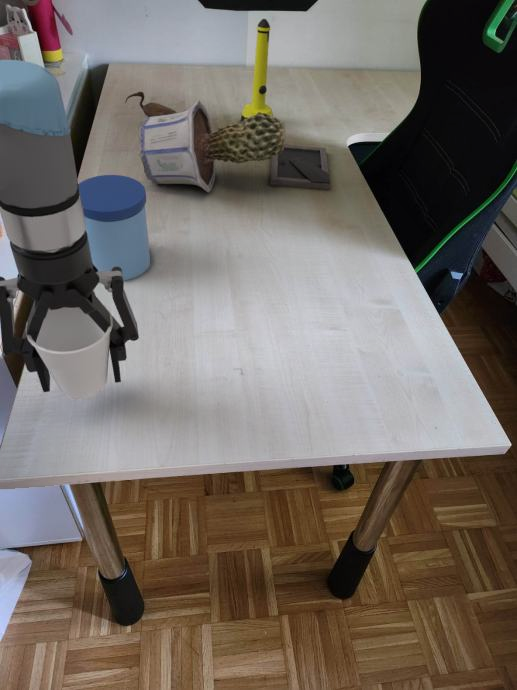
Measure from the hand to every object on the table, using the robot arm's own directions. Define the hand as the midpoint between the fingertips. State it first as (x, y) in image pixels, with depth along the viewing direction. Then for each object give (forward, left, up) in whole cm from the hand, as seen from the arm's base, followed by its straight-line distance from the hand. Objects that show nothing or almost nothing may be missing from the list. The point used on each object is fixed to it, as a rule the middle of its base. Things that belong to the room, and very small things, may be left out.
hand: (82, 379), depth 68 cm
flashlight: (+46, +86, -5) cm, 98 cm away
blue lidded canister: (+6, +31, -5) cm, 32 cm away
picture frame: (+50, +61, -5) cm, 79 cm away
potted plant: (+28, +56, -5) cm, 63 cm away
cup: (0, 0, -1) cm, 1 cm away
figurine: (+19, +87, -5) cm, 89 cm away
